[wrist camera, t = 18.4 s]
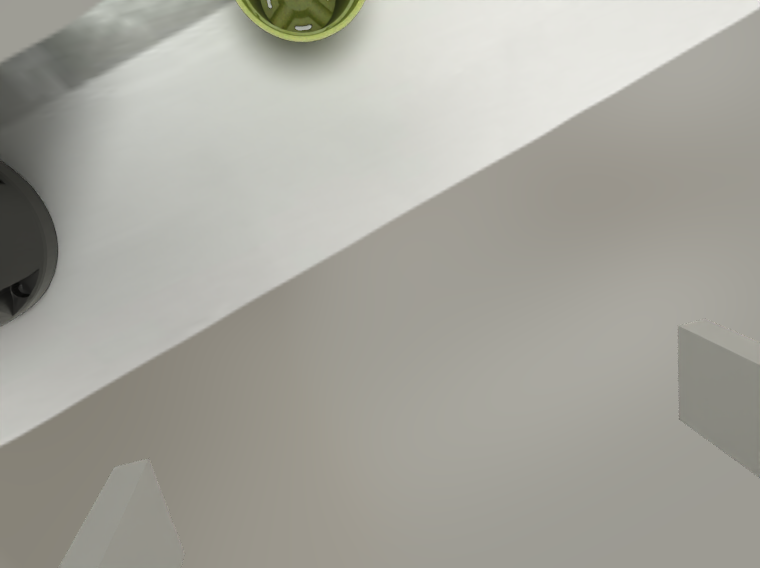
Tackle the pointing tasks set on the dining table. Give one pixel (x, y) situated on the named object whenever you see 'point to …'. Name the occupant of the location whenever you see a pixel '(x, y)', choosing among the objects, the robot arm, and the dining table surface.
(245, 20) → the dining table surface
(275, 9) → the plant pot
